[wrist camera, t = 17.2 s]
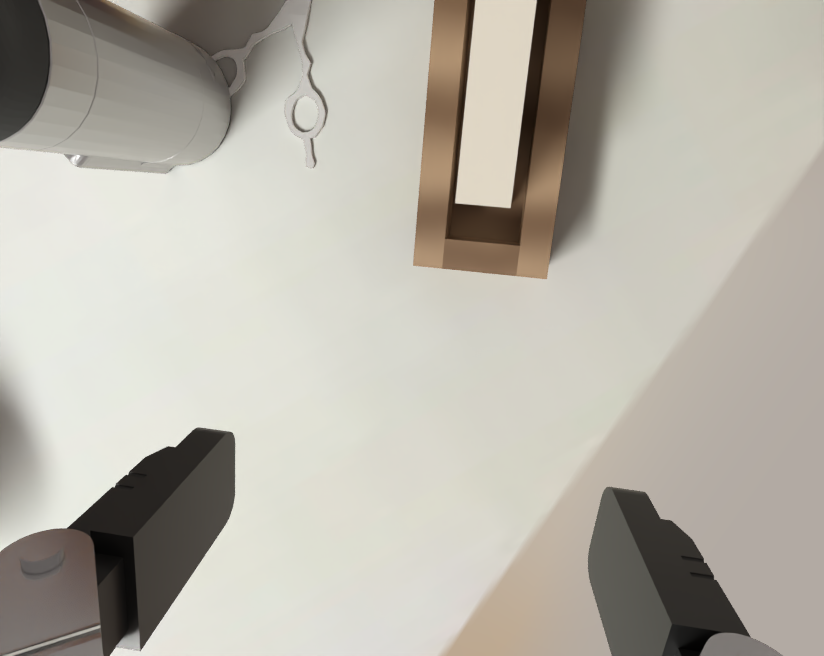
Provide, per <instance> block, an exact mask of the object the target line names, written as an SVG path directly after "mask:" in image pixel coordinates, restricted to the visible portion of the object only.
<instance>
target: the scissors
mask: <svg viewBox="0 0 824 656" xmlns="http://www.w3.org/2000/svg"><path fill="white" fill-rule="evenodd" d="M311 1H312V0H286V1H285V3H284V5H283V6H282V8H281V9H280V11H279V13H278V14H277V15H276V17H275V18H274V19H273V21H272V22H271V23H270V25H269V26H268V28H267V29H265V30H264V31H262V32H259V33H253V34H252V35H251V37H250V39H249V40H248V42H247V44H246V46H245V48H240V49H234V50H227V49H226V50H222V51H220V52H218V53H216V54H214V55H212V56H211V57H212V58H213V59H214V61H215V62H216V61H217V60H219V59H221V58H223V57H229V58H232V59H234V61H235V62H236V65H237V75H236V77H235V79H234V81H233V82H232V84H231V86H230V87H229V88H228V89H229V94H230V97H231V96H232V95H233V94H235V93H236V92H237V91H238V90H239V89H240V88H241V87H242V85H243V84H244V83H245V81H246V74H245V65H244V60H245V59H246V58H247V57H248V56H249V54H250V51H251V49H252V47H253V46H255V45H256V44H257V43H259V42H260V41H262V40H263V39H265V38H266V37H268V36H270V35H272V34H274V33H277V32H280V31H282V30H284V29H286V28H288V27H289V26H291V25H292V27H293V31H294V35H295V39H296V42H297V46H298V49H299V52H300V56H301V60H302V72H303V74H302V78H301V81H300V84H299V87H298V90H297V91H296V92H295V93H294V94H293V95H291V96H290V97H289V98H287V99H286V100H285V117H286V121H287V124H288V126H289V129H290V131H291V132H292V133H293V134H294V135H295V136H297V137H299V138H301V139H303V141H304V146H305V151H306V167H308V168H314V166H315V161H314V158H313V154H312V142H311V138H315V137H316V136H317V135H318V134H319V132H320V131H321V129H322V128H323V126H324V122H325V117H326V111H325V107H324V104H323V101H322V99H321V98H320V96H319V94H318V93H317V92H316V91H315V90H314V89H313V88H312V85H311V82H310V79H309V76H308V74H309V71H310V68H311V65H312V63H311V61H310V60H309V58H308V57H307V55H306V52H305V48H304V44H303V41H304V37H305V32H306V27H307V22H308V17H309V12H310V6H311ZM306 95H307V96H308V97H310V98H312V99H313V100H315V102H316V104H317V107H318V119H317V122H316V125H315V126H314V128H313V130H311V131H309V132H301V131H300V130H298V129H297V128H296V127H295V125H294V122H293V110H294V107H295V105H296V103H297V101H298V99H300V98H302V97H304V96H306Z"/></svg>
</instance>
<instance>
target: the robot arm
mask: <svg viewBox="0 0 824 656" xmlns="http://www.w3.org/2000/svg"><path fill="white" fill-rule="evenodd" d="M230 114H231V101H230V94H229V89H228V85H227V82H226V80H225V78H224V75H223V73H222V71H221V69H220V68H219V66H218V65H217V63H216V62H215V61H214V59H213V58H212V57H211V56H210V55H209V54H208V53H207V52H206V51H205V50H203V49H201V48H200V47H198V46H197V45H195V44H194V43H192V42H190V41H188V40H186V39H185V38H183V37H181V36H179V35H177V34H174V33H172V32H170V31H168V30H166V29H164V28H162V27H160V26H158V25H156V24H154V23H152V22H150V21H148V20H146V19H144V18H142V17H140V16H138V15H136V14H134V13H132V12H130V11H128V10H126V9H124V8H122V7H120V6H118V5H116V4H114V3H112V2H110V1H108V0H0V148H8V149H18V150H30V151H40V152H50V153H60V154H64V155H65V156H66V158H67V159H68V160H69V161H70V162H71V163H72V164H73V165H75V166H77V167H80V168H92V169H106V170H120V171H134V172H148V173H162V174H166V173H168V172H169V170H170V169H171V168H173V167H174V166H180V165H190V164H193V163H196V162H199V161H202V160H203V159H205V158H206V157H208V156H209V155H211V154H212V153H213V152H214V151H215V150H216V149H217V147H218V146H219V145H220V143H221V141H222V140H223V138H224V137H225V134H226V131H227V128H228V126H229V121H230ZM234 497H235V438H234V435H233V433H232V432H227V431H220V430H213V429H206V428H195V429H194V430H193V431H192V432H191V433H190V434H189V435H188V436H187V437H186V438H185V439H184V440H183V441H182V442H181V443H180V444H179V445H177V446H176V447H169V446H168V447H166V448H164V449H162V450H160V451H157V452H155V453H153V454H151V455H149V456H147V457H145V458H144V459H143V460H142V461H141V462H140V463H138V464H137V465H136V466H135V467H134V468H133V469H132V470H131V471H130V472H129V475H125V476H124V477H123V478H122V479H121V480H120V481H119V482H118V483H116V486H115V488H114V487H112V488H111V489H110V490H109V491H108V492H107V493H105V494H104V495H103V496H102V497H101V498H100V499H99V500H98V501H97V502H95V503H94V504H93V505H92V506H91V507H90V508H89V509H88V510H87V511H86V512H84V513H83V514H82V515H81V516H80V517H79V518H78V519H77V520H76V521H75V522H73V523H72V524H71V525H70V526H69V527H68V528H67V529H51V530H46V531H41V532H38V533H34V534H31V535H29V536H26V537H24V538H22V539H19V540H17V541H16V542H14V543H12V544H10V545H9V546H7V547H6V548H4V549H3V550H2V551H1V552H0V656H110V654H111V653H112V652H113V650H114V649H115V647H120V648H125V649H131V650H137V651H141V649H142V648H143V646H144V645H145V643H146V642H147V641H148V639H149V638H150V636H151V635H152V633H153V632H154V630H155V629H156V627H157V626H158V624H159V623H160V621H161V620H162V618H163V617H164V615H165V614H166V612H167V611H168V609H169V608H170V606H171V605H172V603H173V602H174V600H175V599H176V597H177V596H178V594H179V593H180V591H181V590H182V588H183V587H184V586H185V584H186V583H187V581H188V580H189V578H190V577H191V575H192V574H193V572H194V571H195V569H196V568H197V566H198V565H199V563H200V562H201V560H202V559H203V557H204V556H205V554H206V553H207V551H208V550H209V548H210V547H211V545H212V544H213V542H214V541H215V539H216V538H217V536H218V535H219V533H220V532H221V531H222V529H223V528H224V526H225V525H226V523H227V521H228V519H229V517H230V514H231V511H232V508H233V504H234ZM588 572H589V578H590V583H591V586H592V590H593V593H594V596H595V600H596V603H597V607H598V610H599V613H600V617H601V620H602V623H603V627H604V630H605V634H606V637H607V640H608V644H609V647H610V651H611V654H612V656H783V655H781V654H780V653H778V652H777V651H776V650H774V649H773V648H771V647H769V646H768V645H766V644H764V643H762V642H760V641H758V640H756V639H753V638H751V637H750V635H749V633H748V632H747V630H746V629H745V627H744V625H743V623H742V622H741V620H740V618H739V617H738V615H737V613H736V612H735V610H734V608H733V607H732V605H731V603H730V602H729V600H728V598H727V597H726V595H725V593H724V592H723V590H722V588H721V587H720V585H719V583H718V582H717V580H714V575H713V573H712V572H711V570H710V568H709V567H708V565H707V563H704V558H703V557H702V555H701V553H700V552H699V550H698V549H697V547H696V545H695V544H694V542H693V540H692V539H691V538H690V537H689V536H688V535H687V534H686V533H684V532H683V531H682V530H681V529H680V528H679V527H678V526H676V524H674V523H673V522H672V521H670V520H663V519H660V517H659V515H658V513H657V511H656V510H655V508H654V506H653V504H652V502H651V501H650V499H649V497H648V495H647V494H646V493H645V492H640V491H634V490H627V489H620V488H613V487H607V488H606V489H605V490H604V492H603V494H602V498H601V502H600V507H599V511H598V515H597V519H596V523H595V527H594V531H593V535H592V539H591V544H590V548H589V555H588Z"/></svg>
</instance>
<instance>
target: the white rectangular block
mask: <svg viewBox="0 0 824 656" xmlns="http://www.w3.org/2000/svg"><path fill="white" fill-rule="evenodd" d="M536 3H537V0H475V10H474V20H473V30H472V40H471V50H470V60H469V70H468V80H467V90H466V100H465V110H464V120H463V130H462V140H461V150H460V159H459V169H458V179H457V189H456V199H455V203H458V204H469V205H480V206H492V207H503V208H511V202H512V194H513V186H514V178H515V170H516V162H517V154H518V146H519V138H520V130H521V122H522V114H523V106H524V98H525V90H526V82H527V74H528V66H529V58H530V50H531V42H532V35H533V27H534V19H535V11H536Z"/></svg>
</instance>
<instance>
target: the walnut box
mask: <svg viewBox="0 0 824 656" xmlns="http://www.w3.org/2000/svg"><path fill="white" fill-rule="evenodd" d="M585 7H586V0H537V3H536V11H535V19H534V27H533V35H532V42H531V50H530V58H529V66H528V74H527V82H526V90H525V98H524V106H523V114H522V122H521V130H520V138H519V146H518V154H517V162H516V170H515V178H514V186H513V194H512V202H511V208H503V207H492V206H480V205H469V204H458V203H455V199H456V189H457V179H458V169H459V159H460V150H461V140H462V130H463V120H464V110H465V100H466V90H467V80H468V70H469V60H470V50H471V40H472V30H473V20H474V10H475V0H435V1H434V13H433V26H432V38H431V51H430V63H429V75H428V88H427V100H426V113H425V125H424V137H423V150H422V162H421V175H420V187H419V199H418V212H417V224H416V237H415V249H414V261H413V266H423V267H433V268H442V269H452V270H462V271H472V272H482V273H492V274H501V275H511V276H521V277H531V278H541V279H547V273H548V266H549V259H550V252H551V245H552V238H553V231H554V224H555V217H556V210H557V203H558V196H559V189H560V182H561V175H562V168H563V161H564V154H565V147H566V140H567V133H568V126H569V119H570V112H571V105H572V98H573V91H574V84H575V77H576V70H577V63H578V56H579V49H580V42H581V35H582V28H583V21H584V14H585Z"/></svg>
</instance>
